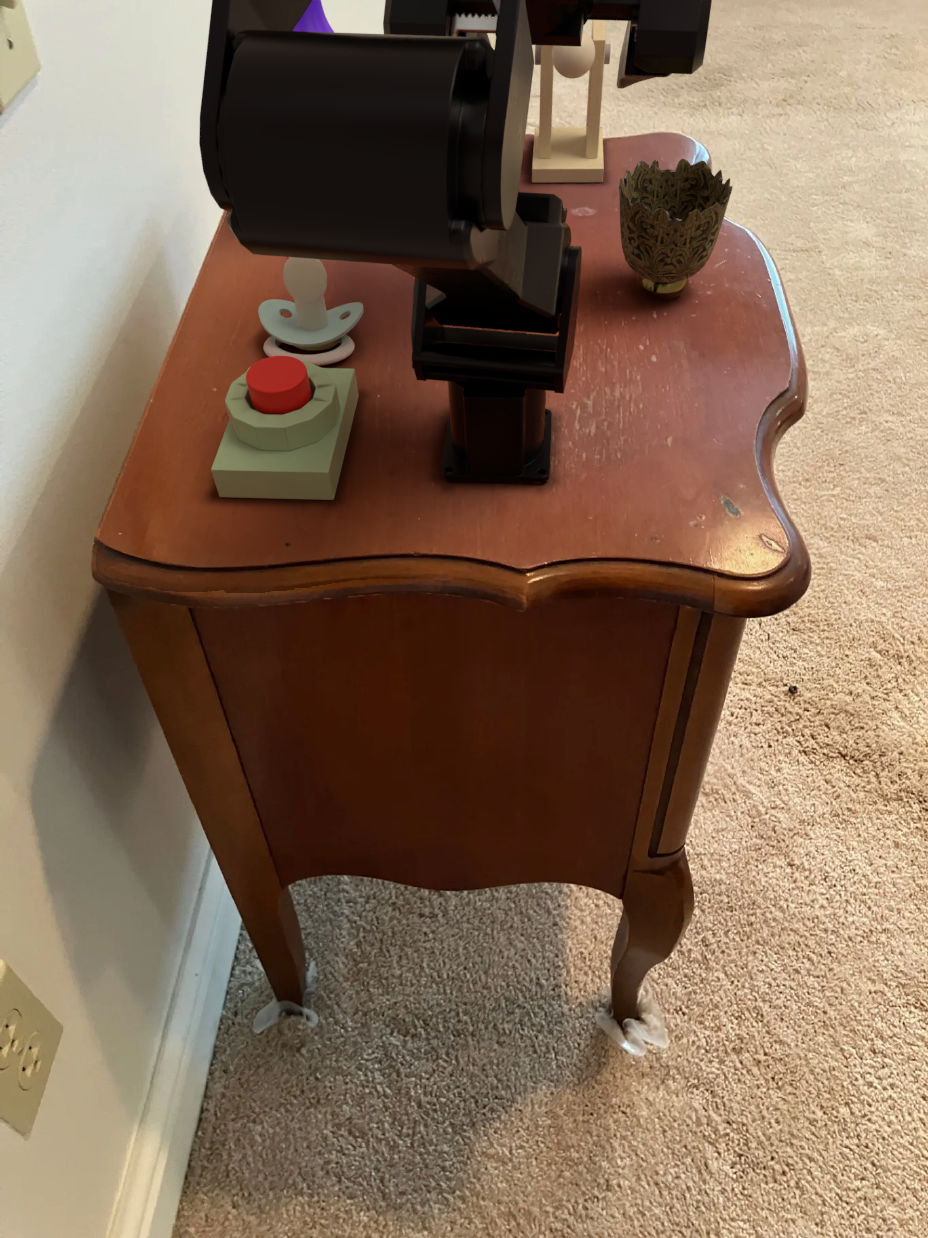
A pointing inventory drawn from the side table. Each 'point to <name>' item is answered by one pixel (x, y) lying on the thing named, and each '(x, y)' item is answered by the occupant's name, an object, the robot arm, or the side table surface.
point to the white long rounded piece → (574, 58)
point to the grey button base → (287, 441)
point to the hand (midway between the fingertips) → (556, 77)
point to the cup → (670, 223)
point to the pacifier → (308, 316)
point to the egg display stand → (570, 147)
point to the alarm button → (278, 385)
